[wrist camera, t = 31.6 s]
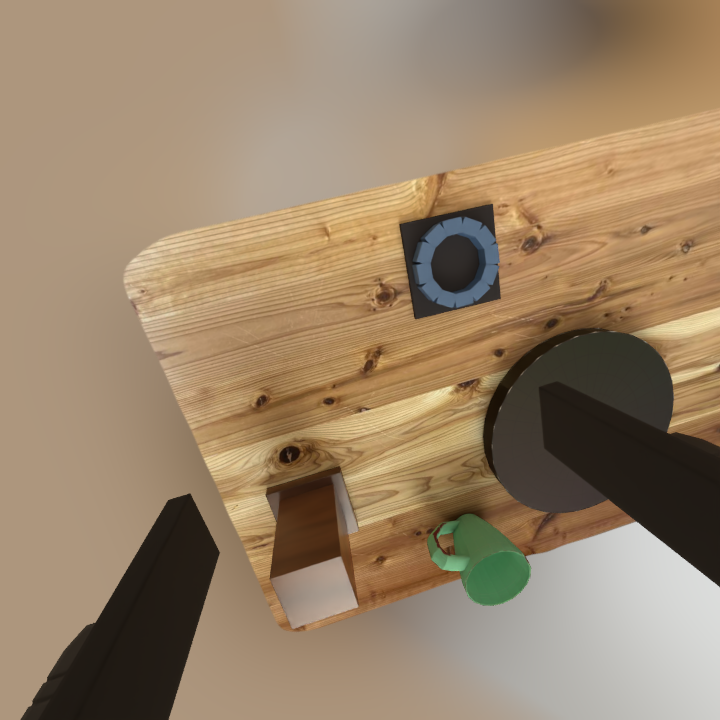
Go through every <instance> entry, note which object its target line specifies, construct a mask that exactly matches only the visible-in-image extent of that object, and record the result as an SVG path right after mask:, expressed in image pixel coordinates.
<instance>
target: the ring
mask: <svg viewBox="0 0 720 720" xmlns="http://www.w3.org/2000/svg"><path fill="white" fill-rule="evenodd" d="M481 225H482V223H481V222H479V221H476V220H473V219H470V218H467V217H463V218H461V217H457V218H453V219H449V220H446V221H442V222H439V223H437V224H435V225H433V226H432V227H431V228H430V229H429V230H428V231H427V232H426V233H425V234H424V235H423V236H422V237H421V238H420V240H421V241H422V242H418V244H417V248H416V251H415V254H414V257H413V262H416V263H418V264H414V265H412V267H413V273H414V278H415V283H416V284H419V285H418V286H417V287H418V288H419V290H420V291H421V292H422V293H423V294H424V295H425V296H426V298H427V299H428V300H431V301H432V302H434V303H437V304H441V305H444V306H448V307H451V308H453V307H455V308H458V307H462V306H465V305H469V304H472V303H474V302H473V300H474V301H477V300H478V299H479V298H481V297H482V296H483V295H484V294H485V293H486V292H487V291H488V290H489V289H490V287H489V286H488V285H493V282H494V280H495V277H496V274H497V271H498V269H499V266H497V265H494V264H497V263H500V261H499V252H498V244H497V243H495V244H493V243H494V242H495V241H496V239H495V238H494V236H493V235H492V234H491V232H490V231H489V229H488V228H487V227H486V225H482V226H481ZM454 234H458V235H461V236H464V237H467V238H469V239H470V240H471V242H472V243H473V244H474V246H475V247H476V248H477V249H478V256H479V267H478V270H477V273H476V276H475V279H474V280H473V281H472V282H471V283H470V284H469V285H468V286H467V287H466V288H464V289H462V290H458V291H455V292H448V291H445V290H442V289H441V287H440V286H439V285H438V284H437V283H436V281H435V280H434V279H433V275H432V269H431V264H430V263H431V260H432V257H433V254H434V251H435V248H436V247H437V246H438V245H439V244H440V243H441V242H442V241H443V240H444V239H445V238H446V237H447V236H451V235H454Z"/></svg>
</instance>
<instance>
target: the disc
mask: <svg viewBox="0 0 720 720" xmlns="http://www.w3.org/2000/svg"><path fill="white" fill-rule="evenodd" d="M556 381H558V382H560V383H563V384H565V385H567V386H569V387H571V388H573V389H575V390H577V391H579V392H582V393H584V394H586V395H588V396H590V397H592V398H594V399H596V400H598V401H601V402H603V403H605V404H607V405H609V406H611V407H613V408H615V409H617V410H620V411H622V412H624V413H626V414H628V415H630V416H632V417H634V418H636V419H639V420H641V421H643V422H645V423H647V424H649V425H651V426H653V427H655V428H658V429H660V430H662V431H664V432H666V433H667V431H668V428H669V424H670V420H671V417H672V412H673V401H674V393H673V384H672V379H671V376H670V373H669V370H668V367H667V365H666V363H665V362H664V360H663V359H662V357H661V356H660V354H659V353H658V352H657V351H656V350H655V349H654V348H653V347H651V346H650V345H649V344H648V343H647V342H645V341H643V340H641V339H639V338H637V337H635V336H633V335H630V334H625V333H620V332H615V331H609V330H604V329H600V328H590V329H578V330H573V331H569V332H565V333H561V334H559V335H557V336H555V337H553V338H550V339H548V340H546V341H544V342H542V343H541V344H539V345H538V346H536V347H535V348H533V349H532V350H531V351H529V352H528V353H526V354H525V355H524V356H523V357H522V358H521V359H520V360H519V361H518V362H517V363H516V364H515V365H514V366H513V367H512V368H511V369H510V371H509V372H508V373H507V375H506V376H505V377H504V379H503V380H502V381H501V383H500V384H499V386H498V388H497V390H496V392H495V394H494V396H493V398H492V400H491V402H490V405H489V409H488V412H487V415H486V418H485V426H484V435H483V438H484V448H485V454H486V457H487V460H488V463H489V466H490V468H491V470H492V471H493V473H494V475H495V476H496V478H497V479H498V481H499V482H500V483H501V484H502V485H503V486H504V488H505V489H506V491H507V492H508V493H509V494H510V495H511V496H513V497H514V498H515V499H516V500H517V501H518V502H520V503H522V504H524V505H526V506H527V507H529V508H532V509H535V510H539V511H543V512H550V513H566V512H574V511H579V510H582V509H586V508H589V507H593V506H595V505H597V504H599V503H601V502H603V501H605V500H608V499H607V498H606V497H605V496H604V495H602V494H601V493H600V492H599V491H597V490H596V489H595V488H594V487H592V486H591V485H590V484H588V483H587V482H586V481H585V480H583V479H582V478H581V477H580V476H578V475H577V474H576V473H574V472H573V471H572V470H571V469H569V468H568V467H567V466H566V465H564V464H563V463H562V462H560V461H559V460H558V459H557V458H555V457H554V456H553V455H552V454H550V453H549V452H548V451H547V450H545V449H544V441H543V430H542V419H541V408H540V397H539V387H540V386H543V385H546V384H549V383H553V382H556Z"/></svg>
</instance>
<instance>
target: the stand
mask: <svg viewBox="0 0 720 720" xmlns="http://www.w3.org/2000/svg"><path fill="white" fill-rule="evenodd" d="M266 497H267V500H268V502H269V504H270V507H271V509H272V512H273V514H274V517H275V519H276V522H277V524H276V532H275V540H274V548H273V556H272V564H271V572H270V581H271V583H272V585H273V588H274V590H275V592H276V594H277V597H278V599H279V601H280V603H281V606H282V608H283V610H284V612H285V614H286V617H287V619H288V621H289V623H290V626H291V628H292V629H294V628H297V627H300V626H303V625H306V624H309V623H312V622H315V621H318V620H321V619H324V618H327V617H330V616H333V615H336V614H339V613H342V612H345V611H348V610H351V609H354V608H357V607H359V605H358V598H357V591H356V584H355V577H354V570H353V563H352V556H351V549H350V542H349V535H348V534H351V533H354V532H357V531H359V528H358V523H357V520H356V517H355V513H354V510H353V507H352V504H351V501H350V498H349V494H348V491H347V488H346V485H345V482H344V479H343V475H342V472H341V469H340V467H336V468H333V469H330V470H327V471H323V472H320V473H317V474H314V475H310V476H307V477H304V478H300V479H297V480H294V481H291V482H287V483H284V484H281V485H278V486H274V487H271V488H268V489H267V492H266Z"/></svg>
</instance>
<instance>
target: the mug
mask: <svg viewBox="0 0 720 720" xmlns="http://www.w3.org/2000/svg"><path fill="white" fill-rule="evenodd" d="M448 533H453V537H454V547H455V554H456V555H451V554H447V553H446V552H445V551H444V550H443V549H442V548H441V547H440V545H439V542H438V537H439V536H440V535H443V534H448ZM427 545H428V549H429V552H430V556H431V559H432V561H433V562H434V563H435V564H436V565H438V566H439V567H440V568H441V569H444V570H449V571H460V575H461V579H462V583H463V586H464V588H465V590H466V592H467V594H468V597H469V598H470V599H472V601H474V602H475V603H478V604H481V605H488V606H494V605H498V604H502V603H505V602H507V601H509V600H511V599H513V598H514V597H515V596H517V595H518V594H519V593H520V592H521V591H522V590H523V589H524V587H525V586H526V585H527V583H528V581H529V578H530V575H531V566H530V564H529V562H528V560H527V559H526V557H525V556H524V554H523V553H522V552H521V551H520V550H519V549H518V548H517V547H516V546H515V545H514V544H513V543H512V542H511V541H510V540H509V539H508V538H506V537H505V536H504V535H503V534H502V533H501V532H500V531H498V530H497V529H496V528H494V527H493V526H492V525H490V524H489V523H488V522H486V521H485V520H483V519H481V518H480V517H478V516H476V515H474V514H464V515H462V516H460V517H459V518H458V519H457V520H456V521H449V522H443V523H440V524H439V525H438V526H437V528H436V529H435V530H434V531H433V532H432V533H431V534H430V536H429V537H428V541H427Z"/></svg>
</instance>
